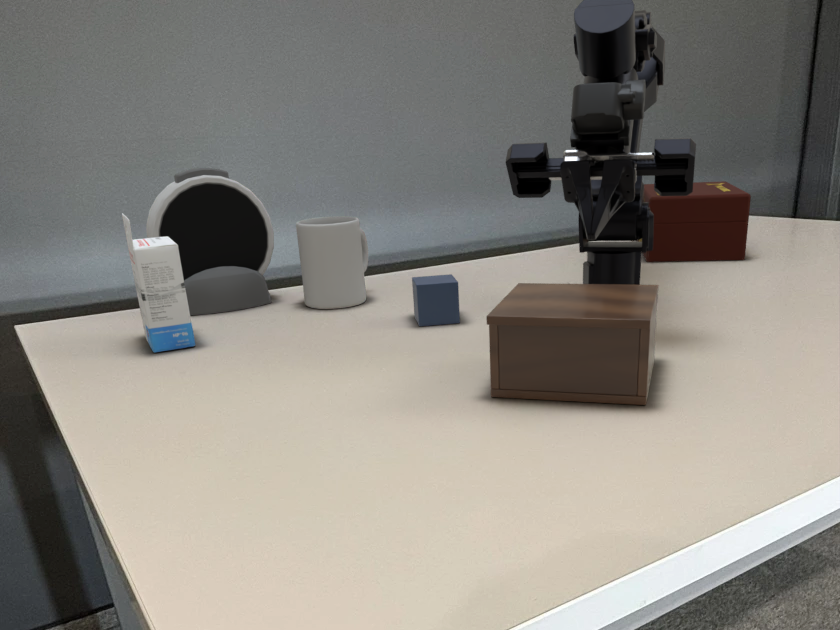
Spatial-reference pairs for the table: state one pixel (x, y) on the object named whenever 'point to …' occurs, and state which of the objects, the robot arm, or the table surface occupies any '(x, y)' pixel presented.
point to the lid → (577, 306)
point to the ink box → (160, 291)
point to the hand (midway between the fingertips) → (591, 237)
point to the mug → (332, 261)
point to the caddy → (572, 363)
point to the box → (699, 223)
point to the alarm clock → (216, 239)
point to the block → (436, 300)
